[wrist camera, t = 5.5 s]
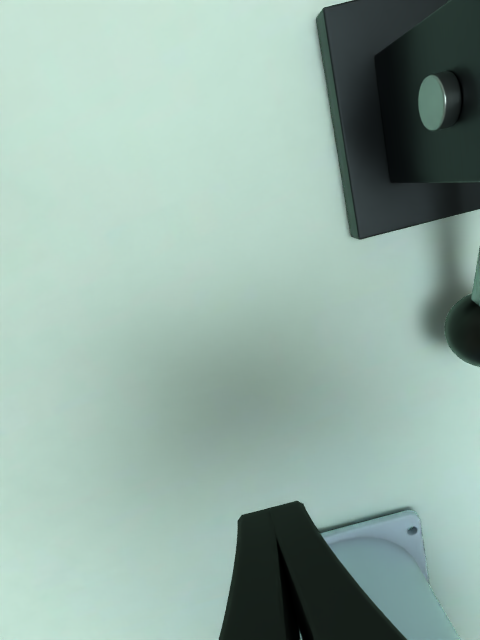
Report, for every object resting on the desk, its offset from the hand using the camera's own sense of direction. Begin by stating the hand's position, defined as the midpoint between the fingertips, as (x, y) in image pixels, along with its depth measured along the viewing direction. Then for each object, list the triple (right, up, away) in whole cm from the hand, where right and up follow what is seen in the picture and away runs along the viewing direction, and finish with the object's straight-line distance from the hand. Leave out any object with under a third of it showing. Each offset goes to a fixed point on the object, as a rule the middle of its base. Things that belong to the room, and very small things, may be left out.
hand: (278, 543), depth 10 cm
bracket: (+7, +13, +8) cm, 16 cm away
